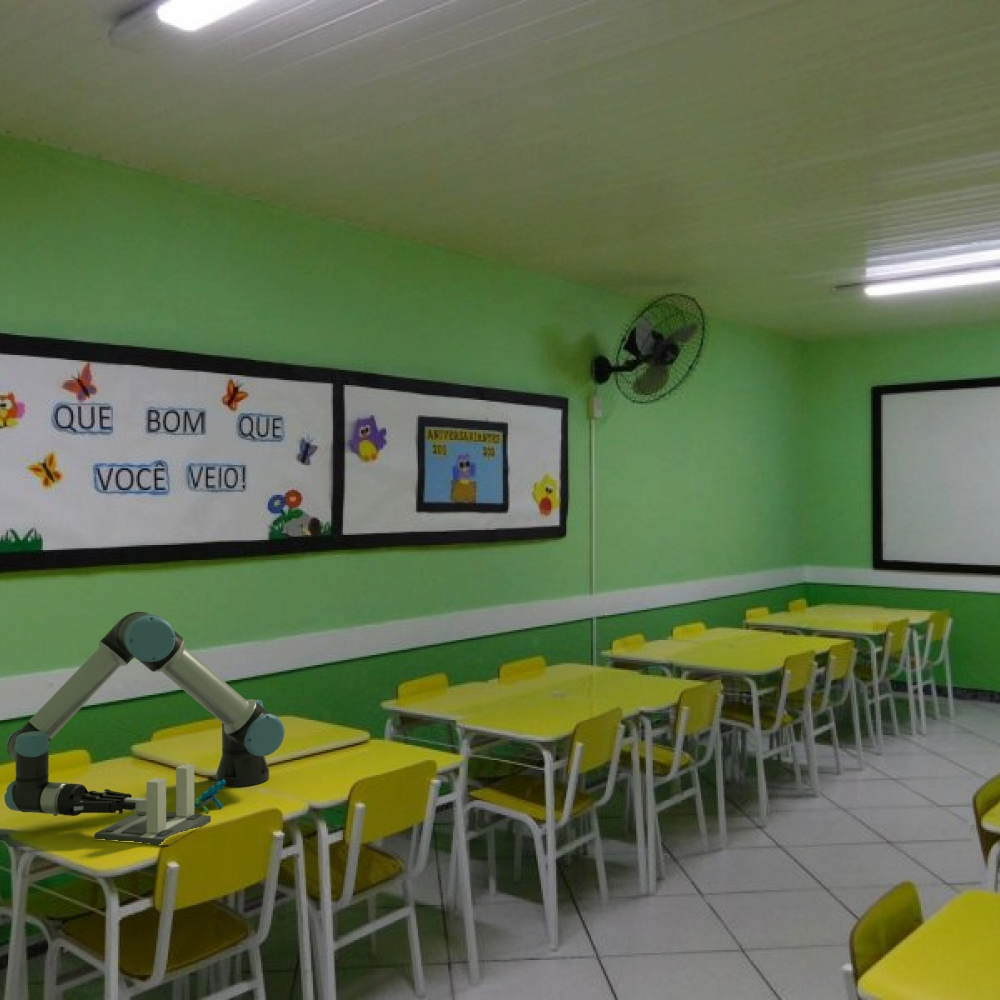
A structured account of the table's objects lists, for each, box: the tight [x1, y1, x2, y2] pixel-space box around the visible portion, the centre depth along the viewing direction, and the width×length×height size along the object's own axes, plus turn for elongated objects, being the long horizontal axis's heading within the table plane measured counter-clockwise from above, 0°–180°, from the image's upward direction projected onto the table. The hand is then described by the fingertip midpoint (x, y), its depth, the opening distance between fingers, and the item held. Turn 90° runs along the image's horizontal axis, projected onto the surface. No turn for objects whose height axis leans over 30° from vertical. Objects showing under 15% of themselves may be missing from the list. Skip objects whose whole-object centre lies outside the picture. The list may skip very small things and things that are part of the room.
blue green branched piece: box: [194, 779, 226, 814], centre depth 264 cm, size 11×6×10 cm
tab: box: [146, 777, 167, 833], centre depth 240 cm, size 3×4×12 cm
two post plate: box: [93, 764, 212, 846], centre depth 247 cm, size 20×19×14 cm
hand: (149, 805), depth 240 cm, fingers closed
